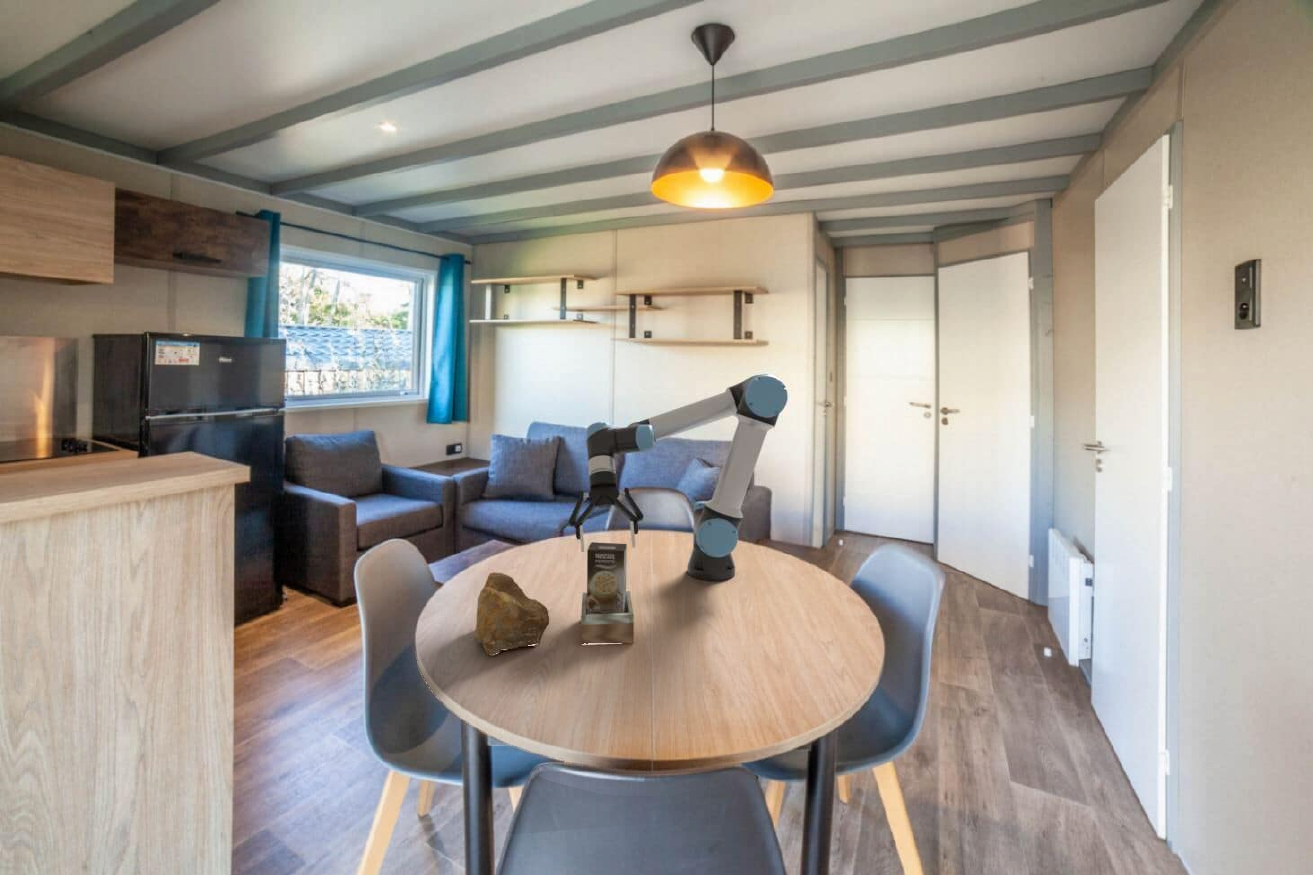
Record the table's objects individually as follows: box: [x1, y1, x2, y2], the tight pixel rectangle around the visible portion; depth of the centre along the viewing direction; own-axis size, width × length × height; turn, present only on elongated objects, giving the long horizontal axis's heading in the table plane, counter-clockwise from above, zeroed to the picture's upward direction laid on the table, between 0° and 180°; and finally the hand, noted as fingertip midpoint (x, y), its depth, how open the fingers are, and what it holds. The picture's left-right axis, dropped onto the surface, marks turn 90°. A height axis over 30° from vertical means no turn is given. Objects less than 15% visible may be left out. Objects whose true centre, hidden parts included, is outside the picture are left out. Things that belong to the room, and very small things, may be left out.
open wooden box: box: [580, 590, 635, 644], centre depth 140 cm, size 12×15×7 cm
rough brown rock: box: [474, 571, 550, 655], centre depth 133 cm, size 23×17×15 cm
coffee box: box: [586, 541, 628, 614], centre depth 139 cm, size 9×6×16 cm
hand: (608, 548), depth 153 cm, fingers open, 13 cm apart
